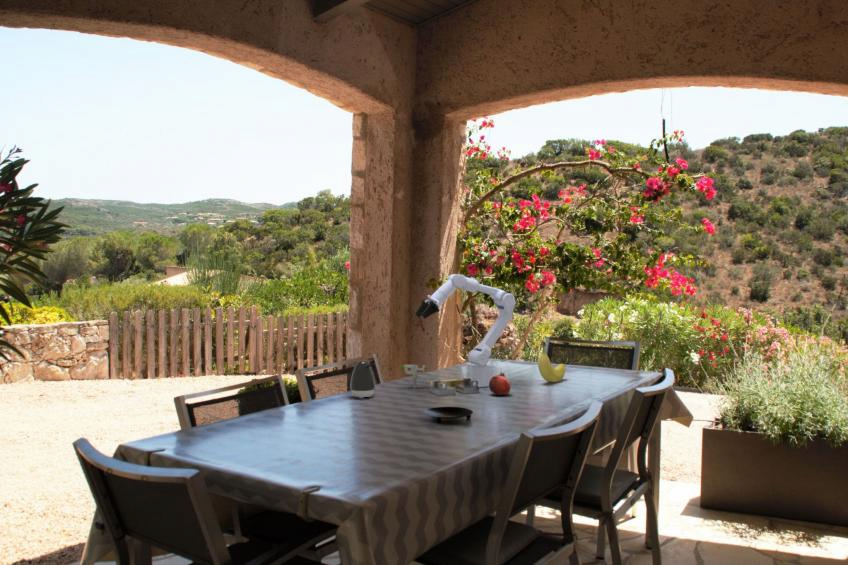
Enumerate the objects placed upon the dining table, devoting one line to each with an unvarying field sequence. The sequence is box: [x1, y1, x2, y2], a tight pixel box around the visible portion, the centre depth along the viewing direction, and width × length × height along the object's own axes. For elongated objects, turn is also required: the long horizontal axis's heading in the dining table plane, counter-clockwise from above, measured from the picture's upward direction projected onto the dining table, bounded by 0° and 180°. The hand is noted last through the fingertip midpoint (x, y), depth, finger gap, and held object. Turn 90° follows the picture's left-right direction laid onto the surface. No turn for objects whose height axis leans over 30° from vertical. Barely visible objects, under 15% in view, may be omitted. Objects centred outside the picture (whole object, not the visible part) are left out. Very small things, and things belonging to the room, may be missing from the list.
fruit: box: [488, 371, 511, 396], centre depth 296 cm, size 9×10×10 cm
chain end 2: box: [455, 377, 480, 395], centre depth 303 cm, size 7×10×5 cm
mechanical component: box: [402, 364, 427, 389], centre depth 313 cm, size 3×10×10 cm, turn 89°
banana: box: [537, 340, 567, 383], centre depth 325 cm, size 23×6×20 cm, turn 143°
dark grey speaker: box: [349, 359, 376, 399], centre depth 292 cm, size 10×10×15 cm
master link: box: [430, 377, 463, 389], centre depth 310 cm, size 14×3×4 cm, turn 111°
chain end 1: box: [430, 379, 456, 397], centre depth 300 cm, size 7×10×5 cm
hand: (419, 316), depth 307 cm, fingers open, 7 cm apart
